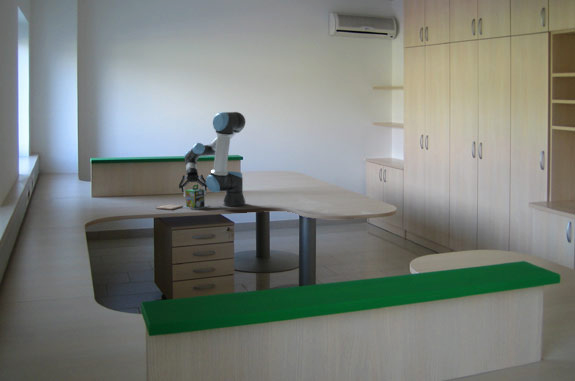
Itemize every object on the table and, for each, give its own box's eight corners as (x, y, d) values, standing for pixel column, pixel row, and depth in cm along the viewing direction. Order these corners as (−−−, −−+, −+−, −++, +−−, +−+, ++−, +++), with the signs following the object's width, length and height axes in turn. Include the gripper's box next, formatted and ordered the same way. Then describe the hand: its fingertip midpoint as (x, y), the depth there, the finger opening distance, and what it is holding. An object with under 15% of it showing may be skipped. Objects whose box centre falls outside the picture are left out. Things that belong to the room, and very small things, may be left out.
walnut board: (183, 207, 432) (183, 205, 432) (172, 210, 420) (171, 208, 420) (167, 205, 437) (167, 204, 437) (155, 208, 426) (155, 207, 426)
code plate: (209, 205, 435) (209, 205, 435) (198, 209, 423) (198, 208, 423) (192, 204, 441) (192, 204, 441) (180, 207, 429) (180, 207, 429)
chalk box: (195, 204, 438) (195, 183, 436) (205, 206, 432) (204, 184, 430) (185, 206, 431) (185, 184, 429) (195, 207, 425) (194, 186, 423)
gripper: (209, 173, 448) (212, 197, 436) (173, 174, 442) (176, 199, 430) (210, 166, 442) (213, 191, 430) (173, 168, 436) (176, 192, 424)
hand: (194, 195), depth 430 cm, fingers open, 13 cm apart
